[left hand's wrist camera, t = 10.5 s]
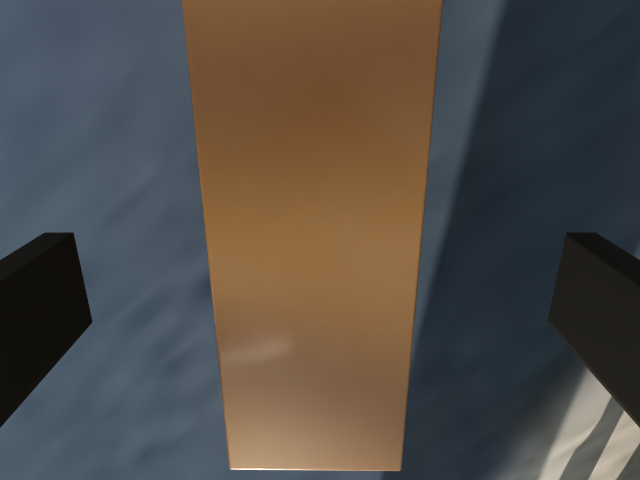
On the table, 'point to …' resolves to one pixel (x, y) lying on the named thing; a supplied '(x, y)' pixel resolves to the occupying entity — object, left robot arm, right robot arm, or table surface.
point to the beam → (313, 218)
